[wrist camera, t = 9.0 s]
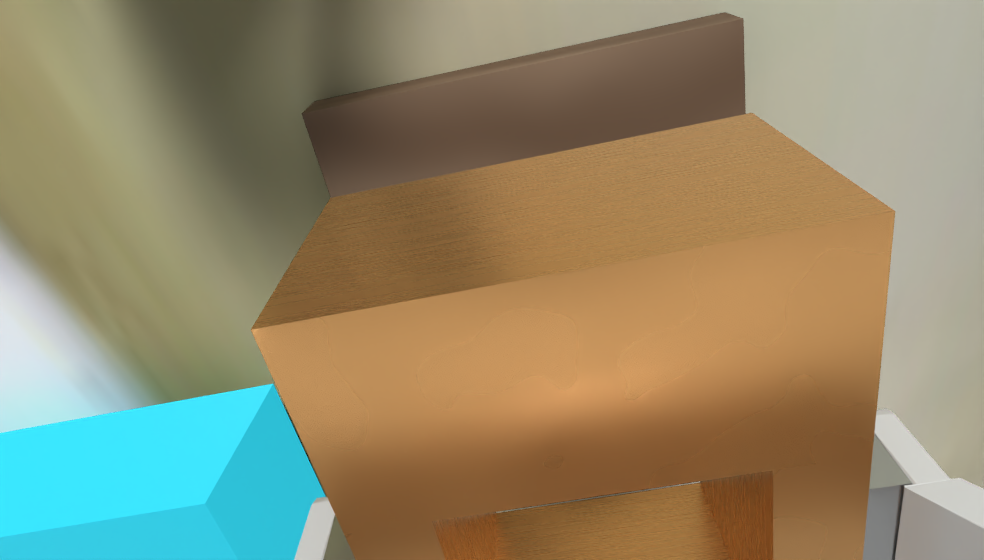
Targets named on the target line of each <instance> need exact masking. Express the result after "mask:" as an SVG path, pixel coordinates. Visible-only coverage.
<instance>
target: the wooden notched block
mask: <svg viewBox="0 0 984 560" xmlns="http://www.w3.org/2000/svg"><path fill="white" fill-rule="evenodd" d="M894 218H895V211H894V210H893V209H891V208H890V207H888V206H887V205H885V204H884V203H882V202H881V201H880V200H878V199H877V198H875V197H874V196H872V195H871V194H869V193H868V192H866V191H865V190H863V189H862V188H861V187H859V186H858V185H856V184H855V183H853V182H852V181H850V180H849V179H847V178H846V177H845V176H843V175H842V174H840V173H839V172H837V171H836V170H834V169H833V168H831V167H830V166H829V165H827V164H826V163H824V162H823V161H821V160H820V159H818V158H817V157H815V156H814V155H813V154H811V153H810V152H808V151H807V150H805V149H804V148H802V147H801V146H799V145H798V144H796V143H795V142H794V141H792V140H791V139H789V138H788V137H786V136H785V135H783V134H782V133H780V132H779V131H778V130H776V129H775V128H773V127H772V126H770V125H769V124H767V123H766V122H764V121H763V120H762V119H760V118H759V117H757V116H756V115H754V114H753V113H749V114H744V115H739V116H734V117H729V118H724V119H719V120H714V121H709V122H704V123H699V124H694V125H689V126H684V127H679V128H674V129H669V130H664V131H660V132H655V133H650V134H645V135H640V136H635V137H630V138H625V139H620V140H615V141H610V142H605V143H600V144H595V145H590V146H585V147H580V148H575V149H570V150H565V151H560V152H556V153H551V154H546V155H541V156H536V157H531V158H526V159H521V160H516V161H511V162H506V163H501V164H496V165H491V166H486V167H481V168H476V169H471V170H466V171H461V172H456V173H452V174H447V175H442V176H437V177H432V178H427V179H422V180H417V181H412V182H407V183H402V184H397V185H392V186H387V187H382V188H377V189H372V190H367V191H362V192H357V193H352V194H348V195H343V196H338V197H333V198H330V199H329V201H328V203H327V204H326V206H325V208H324V209H323V211H322V213H321V214H320V216H319V218H318V219H317V221H316V223H315V224H314V226H313V228H312V229H311V231H310V233H309V234H308V236H307V238H306V239H305V241H304V243H303V244H302V246H301V248H300V249H299V251H298V252H297V254H296V256H295V257H294V259H293V261H292V262H291V264H290V266H289V267H288V269H287V271H286V272H285V274H284V276H283V277H282V279H281V281H280V282H279V284H278V286H277V287H276V289H275V291H274V292H273V294H272V296H271V297H270V299H269V301H268V302H267V304H266V305H265V307H264V309H263V310H262V312H261V314H260V315H259V317H258V319H257V320H256V322H255V324H254V325H253V327H252V329H251V331H252V333H253V336H254V338H255V340H256V342H257V344H258V347H259V349H260V351H261V353H262V355H263V358H264V360H265V362H266V364H267V366H268V369H269V371H270V373H271V375H272V377H273V379H274V382H275V384H276V386H277V388H278V390H279V393H280V395H281V397H282V399H283V401H284V404H285V406H286V408H287V410H288V412H289V415H290V417H291V419H292V421H293V423H294V426H295V428H296V430H297V432H298V434H299V436H300V439H301V441H302V443H303V445H304V447H305V450H306V452H307V454H308V456H309V458H310V461H311V463H312V465H313V467H314V469H315V472H316V474H317V476H318V478H319V480H320V483H321V485H322V487H323V489H324V491H325V493H326V496H327V498H328V500H329V502H330V504H331V507H332V509H333V511H334V513H335V515H336V518H337V520H338V522H339V524H340V526H341V529H342V531H343V533H344V535H345V537H346V540H347V542H348V544H349V546H350V548H351V550H352V553H353V555H354V557H355V559H356V560H863V550H864V539H865V529H866V518H867V507H868V497H869V486H870V475H871V464H872V454H873V443H874V432H875V422H876V411H877V400H878V390H879V379H880V368H881V357H882V347H883V336H884V325H885V315H886V304H887V293H888V283H889V272H890V261H891V250H892V240H893V229H894ZM698 481H700V483H695V484H689V485H682V486H675V487H669V488H662V489H655V490H649V491H642V492H635V493H629V494H622V495H615V496H609V497H602V498H595V499H588V500H582V501H575V502H568V503H562V504H555V505H548V506H542V507H535V508H528V509H522V510H515V511H508V512H502V513H496V512H498V511H505V510H511V509H518V508H525V507H531V506H538V505H545V504H551V503H558V502H565V501H571V500H578V499H585V498H591V497H598V496H604V495H611V494H618V493H624V492H631V491H638V490H644V489H651V488H658V487H664V486H671V485H678V484H684V483H691V482H698Z"/></svg>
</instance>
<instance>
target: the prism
mask: <svg viewBox="0 0 984 560" xmlns="http://www.w3.org/2000/svg"><path fill="white" fill-rule="evenodd" d="M321 497H326V496H325V494H324V492H323V490H322V487H321V485H320V483H319V481H318V479H317V477H316V475H315V472H314V470H313V468H312V466H311V464H310V462H309V460H308V457H307V455H306V453H305V451H304V449H303V447H302V444H301V442H300V440H299V438H298V436H297V434H296V432H295V429H294V427H293V425H292V423H291V421H290V419H289V417H288V414H287V412H286V410H285V408H284V406H283V404H282V402H281V399H280V397H279V395H278V393H277V391H276V389H275V387H274V384H269V385H263V386H258V387H252V388H247V389H241V390H236V391H230V392H225V393H219V394H214V395H208V396H203V397H197V398H191V399H186V400H180V401H175V402H169V403H164V404H158V405H153V406H147V407H142V408H136V409H131V410H125V411H120V412H114V413H109V414H103V415H98V416H92V417H87V418H81V419H76V420H70V421H64V422H59V423H53V424H48V425H42V426H37V427H31V428H26V429H20V430H15V431H9V432H4V433H0V560H294V558H295V555H296V552H297V549H298V546H299V542H300V539H301V536H302V533H303V530H304V527H305V523H306V520H307V517H308V514H309V511H310V508H311V505H312V504H313V502H314V501H315V500H316V499H317V498H321Z"/></svg>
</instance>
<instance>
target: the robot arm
mask: <svg viewBox="0 0 984 560" xmlns="http://www.w3.org/2000/svg"><path fill="white" fill-rule="evenodd" d="M294 560H356V559H355V557H354V555H353V553H352V550H351V548H350V546H349V544H348V542H347V540H346V537H345V535H344V533H343V531H342V529H341V526H340V524H339V522H338V520H337V518H336V515H335V513H334V511H333V509H332V507H331V504H330V502H329V500H328V498H327V497H321V498H317V499H316V500H315V501H314V502H313V504H312V505H311V508H310V511H309V514H308V517H307V520H306V523H305V527H304V530H303V533H302V536H301V539H300V542H299V546H298V549H297V552H296V555H295V558H294ZM863 560H984V489H983V488H981V487H979V486H977V485H975V484H973V483H971V482H968V481H966V480H964V479H962V478H955V479H950V478H949V477H948V475H947V474H946V473H945V472H944V471H943V470H942V468H941V467H940V466H939V465H938V464H937V463H936V461H935V460H934V459H933V458H932V457H931V456H930V454H929V453H928V452H927V451H926V450H925V449H924V447H923V446H922V445H921V444H920V443H919V442H918V440H917V439H916V438H915V437H914V436H913V435H912V433H911V432H910V431H909V430H908V429H907V428H906V426H905V425H904V424H903V423H902V422H901V421H900V420H899V418H898V417H897V416H896V415H895V414H894V413H893V412H892V411H890V410H889V409H887V408H885V409H879V410H877V411H876V422H875V432H874V443H873V454H872V464H871V475H870V486H869V497H868V507H867V518H866V529H865V539H864V550H863Z"/></svg>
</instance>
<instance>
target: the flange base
mask: <svg viewBox="0 0 984 560" xmlns="http://www.w3.org/2000/svg"><path fill="white" fill-rule="evenodd" d="M744 114H745V71H744V26H743V18H740V17H737V16H734V15H731V14H728V13H720V14H715V15H711V16H706V17H701V18H697V19H692V20H688V21H683V22H678V23H674V24H669V25H665V26H660V27H655V28H651V29H646V30H642V31H637V32H632V33H628V34H623V35H618V36H614V37H609V38H605V39H600V40H595V41H591V42H586V43H582V44H577V45H572V46H568V47H563V48H559V49H554V50H549V51H545V52H540V53H535V54H531V55H526V56H522V57H517V58H512V59H508V60H503V61H499V62H494V63H489V64H485V65H480V66H476V67H471V68H466V69H462V70H457V71H452V72H448V73H443V74H439V75H434V76H429V77H425V78H420V79H416V80H411V81H406V82H402V83H397V84H393V85H388V86H383V87H379V88H374V89H369V90H365V91H360V92H356V93H351V94H346V95H342V96H337V97H333V98H328V99H323V100H319V101H315V102H314V103H312V104H311V105H310V106H309V107H308V108H307V109H306V110H305V111H304V112H303V113H302V116H303V119H304V122H305V125H306V128H307V130H308V133H309V136H310V139H311V142H312V145H313V148H314V151H315V154H316V156H317V159H318V162H319V165H320V168H321V171H322V174H323V177H324V180H325V182H326V185H327V188H328V191H329V194H330V197H331V198H333V197H338V196H343V195H348V194H352V193H357V192H362V191H367V190H372V189H377V188H382V187H387V186H392V185H397V184H402V183H407V182H412V181H417V180H422V179H427V178H432V177H437V176H442V175H447V174H452V173H456V172H461V171H466V170H471V169H476V168H481V167H486V166H491V165H496V164H501V163H506V162H511V161H516V160H521V159H526V158H531V157H536V156H541V155H546V154H551V153H556V152H560V151H565V150H570V149H575V148H580V147H585V146H590V145H595V144H600V143H605V142H610V141H615V140H620V139H625V138H630V137H635V136H640V135H645V134H650V133H655V132H660V131H664V130H669V129H674V128H679V127H684V126H689V125H694V124H699V123H704V122H709V121H714V120H719V119H724V118H729V117H734V116H739V115H744Z"/></svg>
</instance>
